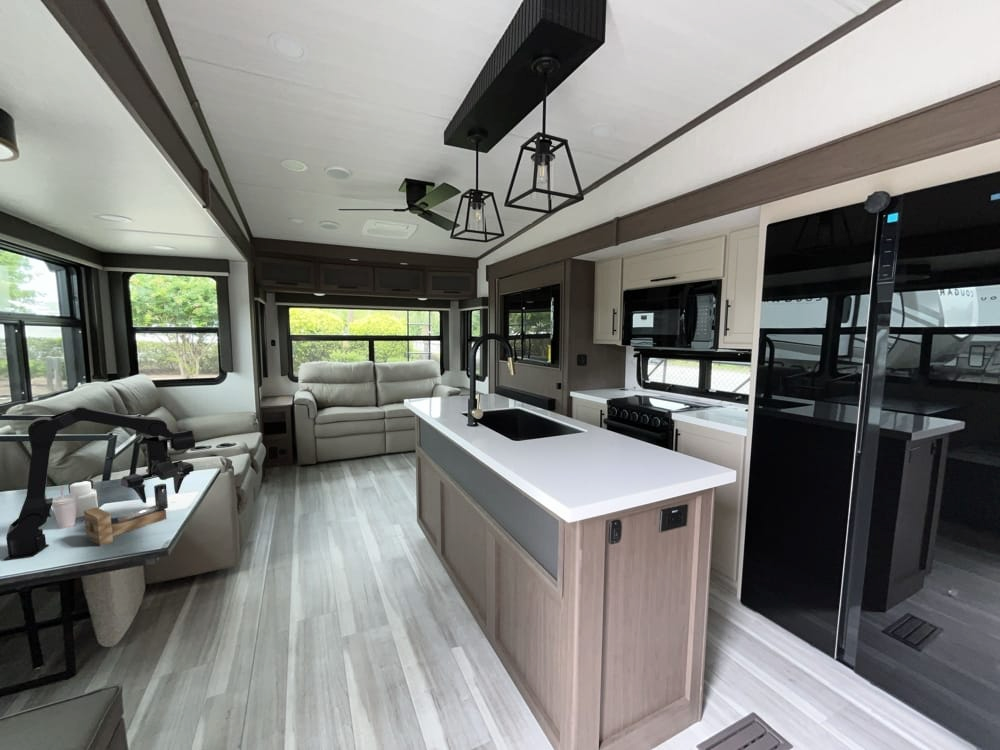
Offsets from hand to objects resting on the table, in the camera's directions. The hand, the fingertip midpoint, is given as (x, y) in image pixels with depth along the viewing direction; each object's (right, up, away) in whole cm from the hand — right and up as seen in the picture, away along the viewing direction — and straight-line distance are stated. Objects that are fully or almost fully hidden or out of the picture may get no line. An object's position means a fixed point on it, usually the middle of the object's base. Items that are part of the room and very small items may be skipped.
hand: (161, 497), depth 139 cm
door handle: (-2, -4, -4) cm, 6 cm away
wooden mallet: (-4, -8, -7) cm, 11 cm away
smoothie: (-28, -8, -5) cm, 29 cm away
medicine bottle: (-32, -7, +4) cm, 33 cm away
